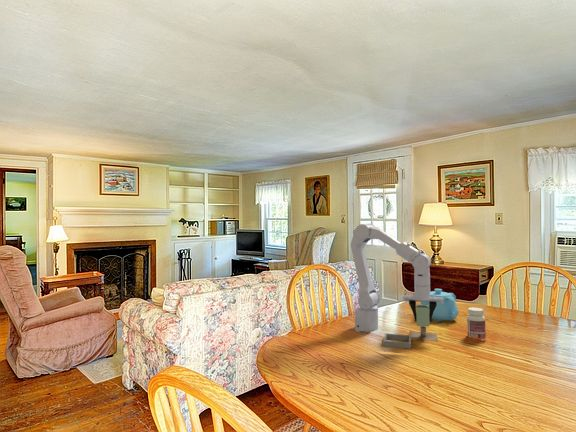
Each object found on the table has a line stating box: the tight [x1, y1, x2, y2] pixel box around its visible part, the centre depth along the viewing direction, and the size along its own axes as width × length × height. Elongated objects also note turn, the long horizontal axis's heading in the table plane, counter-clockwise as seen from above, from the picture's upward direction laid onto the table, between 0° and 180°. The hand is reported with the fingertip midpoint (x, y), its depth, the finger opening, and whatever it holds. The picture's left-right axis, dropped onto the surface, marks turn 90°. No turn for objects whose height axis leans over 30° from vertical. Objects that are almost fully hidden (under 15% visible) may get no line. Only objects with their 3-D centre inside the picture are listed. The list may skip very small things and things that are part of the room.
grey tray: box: [382, 332, 412, 350], centre depth 133 cm, size 9×9×2 cm
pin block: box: [409, 326, 439, 343], centre depth 140 cm, size 10×10×4 cm
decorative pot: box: [419, 288, 459, 323], centre depth 167 cm, size 16×16×14 cm
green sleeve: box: [416, 304, 431, 328], centre depth 140 cm, size 5×5×7 cm
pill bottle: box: [466, 307, 487, 342], centre depth 138 cm, size 6×6×11 cm
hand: (422, 320), depth 140 cm, fingers closed on green sleeve, 5 cm apart
